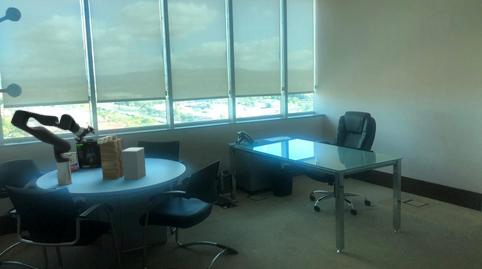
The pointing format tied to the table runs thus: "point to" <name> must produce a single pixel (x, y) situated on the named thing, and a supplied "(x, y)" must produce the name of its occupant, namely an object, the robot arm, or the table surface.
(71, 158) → the candy bar box
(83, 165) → the headset box
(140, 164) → the light grey box
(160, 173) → the table surface
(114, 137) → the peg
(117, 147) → the tall stand
